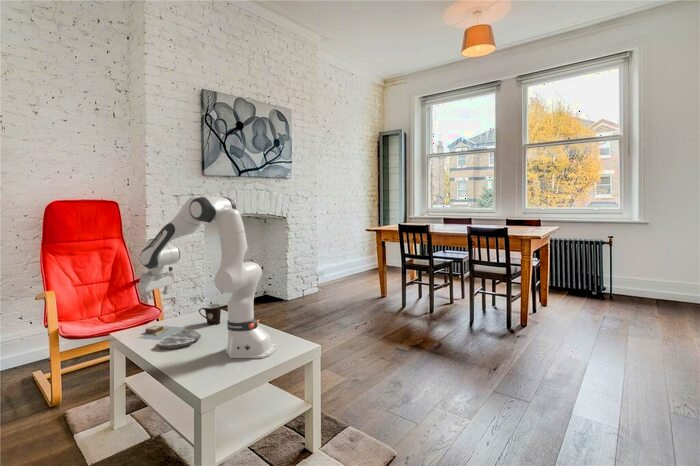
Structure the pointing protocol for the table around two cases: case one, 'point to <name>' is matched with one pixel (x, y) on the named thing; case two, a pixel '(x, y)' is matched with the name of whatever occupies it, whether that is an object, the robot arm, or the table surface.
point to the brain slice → (179, 339)
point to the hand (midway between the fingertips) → (158, 296)
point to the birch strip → (161, 331)
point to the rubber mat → (164, 333)
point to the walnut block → (154, 329)
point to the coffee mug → (212, 313)
